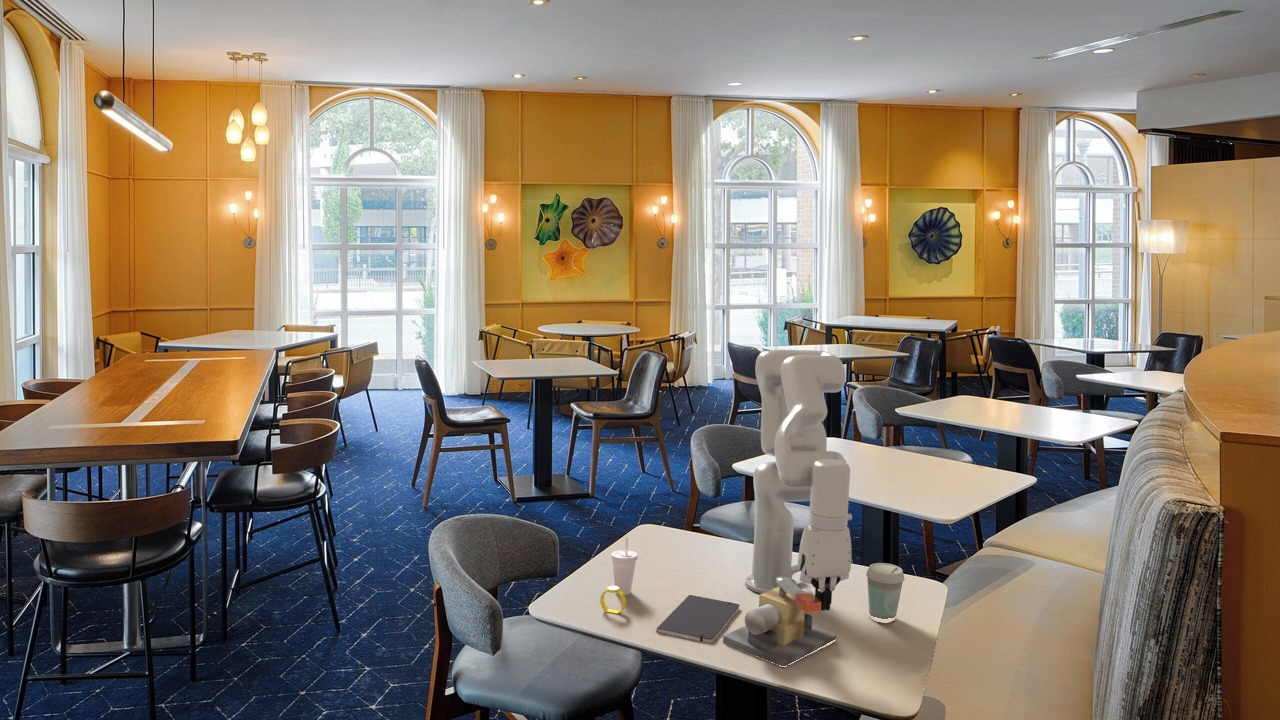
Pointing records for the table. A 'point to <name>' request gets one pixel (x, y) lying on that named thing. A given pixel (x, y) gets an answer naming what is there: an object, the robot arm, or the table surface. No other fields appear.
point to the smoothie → (624, 568)
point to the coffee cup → (884, 589)
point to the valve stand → (778, 630)
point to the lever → (799, 595)
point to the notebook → (699, 618)
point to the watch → (613, 590)
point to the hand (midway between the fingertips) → (822, 608)
